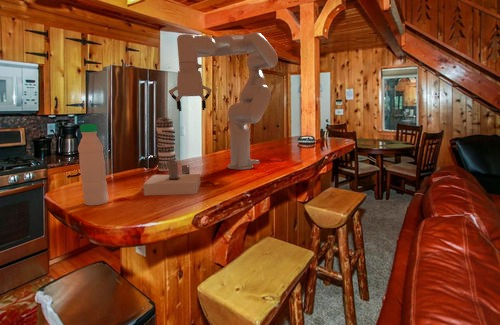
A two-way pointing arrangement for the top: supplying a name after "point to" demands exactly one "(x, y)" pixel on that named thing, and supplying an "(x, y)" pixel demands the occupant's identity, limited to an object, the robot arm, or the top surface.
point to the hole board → (172, 185)
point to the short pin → (185, 169)
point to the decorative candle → (165, 142)
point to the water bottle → (92, 166)
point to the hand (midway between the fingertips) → (191, 110)
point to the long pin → (173, 169)
